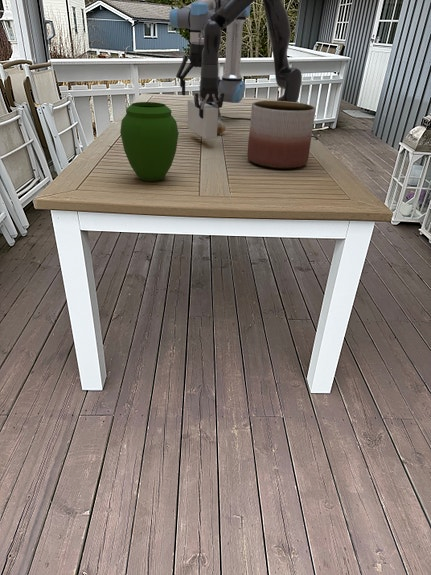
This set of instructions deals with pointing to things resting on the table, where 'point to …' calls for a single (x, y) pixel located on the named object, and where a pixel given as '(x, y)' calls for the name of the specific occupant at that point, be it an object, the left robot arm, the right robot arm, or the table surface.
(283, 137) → the planter
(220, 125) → the seashell
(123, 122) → the vase
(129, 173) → the table surface
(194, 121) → the box
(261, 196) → the table surface
